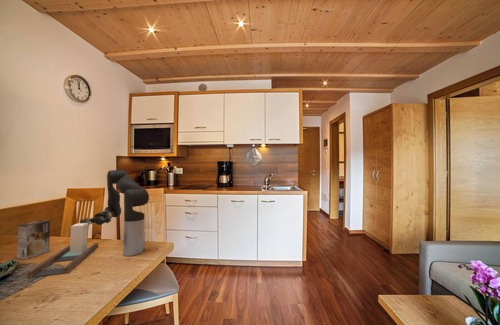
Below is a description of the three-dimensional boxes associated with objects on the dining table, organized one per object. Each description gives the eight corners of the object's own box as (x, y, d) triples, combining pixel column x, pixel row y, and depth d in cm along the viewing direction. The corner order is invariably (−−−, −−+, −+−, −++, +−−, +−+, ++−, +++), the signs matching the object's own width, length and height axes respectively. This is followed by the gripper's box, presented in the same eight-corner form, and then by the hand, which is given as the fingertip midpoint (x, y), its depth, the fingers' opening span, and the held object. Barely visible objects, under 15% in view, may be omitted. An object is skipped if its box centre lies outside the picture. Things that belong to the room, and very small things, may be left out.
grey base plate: (84, 255, 96) (84, 254, 96) (63, 273, 80) (63, 272, 80) (60, 258, 93) (60, 257, 93) (32, 277, 77) (32, 276, 77)
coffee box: (40, 250, 101) (41, 219, 102) (49, 251, 100) (50, 220, 100) (16, 258, 92) (17, 224, 93) (25, 259, 91) (27, 225, 91)
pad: (94, 247, 105) (94, 246, 105) (85, 255, 96) (85, 254, 96) (72, 249, 102) (72, 248, 102) (61, 257, 93) (61, 256, 93)
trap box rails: (98, 247, 106) (98, 242, 106) (68, 273, 80) (68, 267, 80) (68, 249, 102) (68, 245, 102) (27, 278, 76) (27, 271, 76)
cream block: (86, 249, 102) (87, 222, 103) (81, 253, 98) (82, 225, 98) (75, 250, 101) (76, 223, 101) (69, 254, 96) (70, 226, 97)
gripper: (90, 212, 124) (75, 218, 108) (115, 210, 128) (105, 216, 112) (89, 223, 123) (75, 231, 108) (115, 222, 128) (104, 229, 112)
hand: (90, 223), depth 110 cm, fingers open, 8 cm apart
